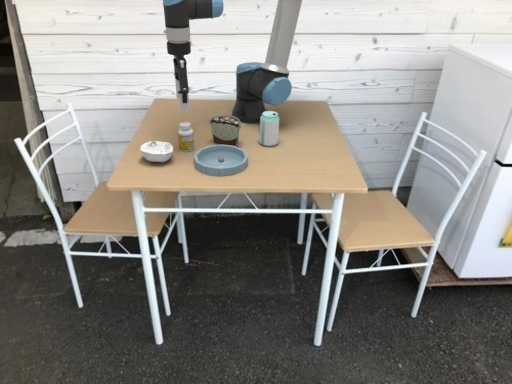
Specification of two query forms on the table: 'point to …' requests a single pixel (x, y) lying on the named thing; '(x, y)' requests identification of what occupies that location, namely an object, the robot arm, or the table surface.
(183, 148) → the supplement bottle
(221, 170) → the ring tray
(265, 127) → the can
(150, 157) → the cell model
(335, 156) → the table surface
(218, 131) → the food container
